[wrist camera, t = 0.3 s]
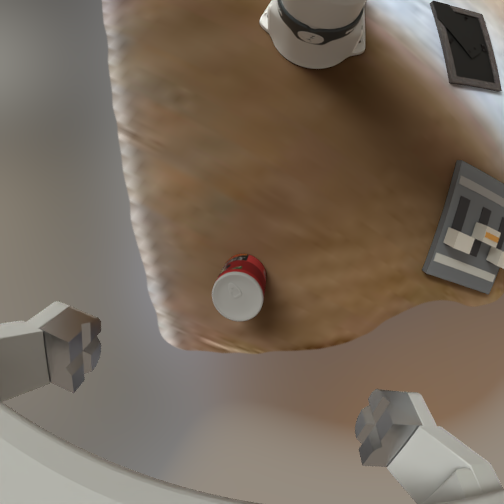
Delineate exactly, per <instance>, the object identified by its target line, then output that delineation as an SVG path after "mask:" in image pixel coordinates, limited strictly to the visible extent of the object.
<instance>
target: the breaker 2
mask: <svg viewBox="0 0 504 504" xmlns="http://www.w3.org/2000/svg"><path fill="white" fill-rule="evenodd" d="M486 260H487V261H489V262H491V263H493V264H494V265H496V266H498V267H501V268H503V269H504V251H501V250H499V249H497V248H495V247H493V246H491V248H490V251H489V254H488V256H487V259H486Z"/></svg>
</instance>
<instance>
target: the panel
mask: <svg viewBox="0 0 504 504" xmlns="http://www.w3.org/2000/svg"><path fill="white" fill-rule="evenodd" d="M476 222H478V223H481V224H483V225H486V226H488V227H490V228H492V229H494V230H496V231H498V232H500V233H501V234H500V238H499V241H498V244H497V247H496V248H497V249H499V250H501V251H504V184H503V183H501V182H500V181H498V180H496V179H495V178H493V177H491V176H489V175H488V174H486V173H484V172H482V171H481V170H479V169H477V168H475V167H473V166H471V165H470V164H468V163H466V162H464V161H462V160H457V162H456V166H455V170H454V173H453V177H452V181H451V185H450V188H449V192H448V195H447V199H446V202H445V205H444V209H443V212H442V215H441V218H440V221H439V224H438V227H437V230H436V233H435V236H434V239H433V242H432V245H431V247H430V250H429V253H428V256H427V258H426V261H425V263H424V266H423V269H422V270H423V271H424V272H425V273H427V274H430V275H433V276H436V277H439V278H442V279H445V280H448V281H451V282H454V283H457V284H460V285H463V286H466V287H468V288H471V289H474V290H477V291H480V292H483V293H486V294H489V293H490V291H491V288H492V286H493V283H494V281H495V278H496V276H497V273H498V271H499V268H500V267H498V266H496V265H494V264H493V263H491V262H489V261H487V260H486V259H487V256H488V254H489V251H490V248H491V246H490V245H488V244H486V243H484V242H482V241H479V240H477V239H475V240H474V243H473V245H472V248H471V251H470V254H467V253H465V252H462V251H460V250H457V249H455V248H452V247H451V246H449V245H447V244H445V243H443V242H444V239H445V236H446V233H447V230H448V227H450V228H452V229H455V230H457V231H459V232H462V233H464V234H466V235H468V236H472V233H473V230H474V227H475V224H476Z"/></svg>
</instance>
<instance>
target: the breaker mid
mask: <svg viewBox="0 0 504 504" xmlns="http://www.w3.org/2000/svg"><path fill="white" fill-rule="evenodd" d="M500 234H501V233H500V232H498V231H496V230H494V229H492V228H490V227H488V226H486V225H483V224H481V223H478V222H476V224H475V227H474V230H473V233H472V236H471V237H473V238H475V239H477V240H479V241H482V242H484V243H486V244H488V245H490V246H493V247H495V248H496V247H497V244H498V241H499V238H500Z"/></svg>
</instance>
